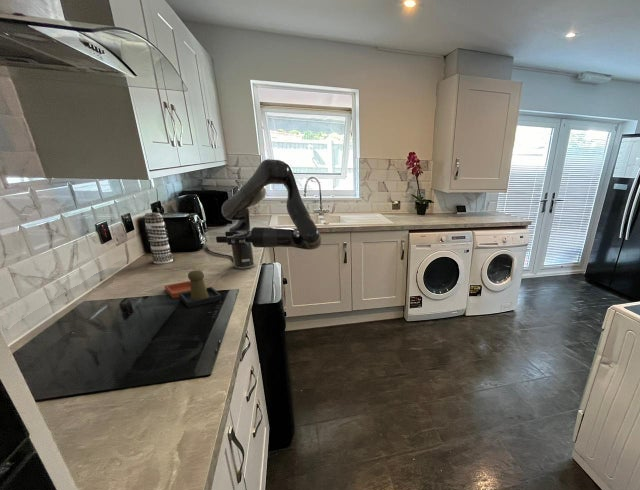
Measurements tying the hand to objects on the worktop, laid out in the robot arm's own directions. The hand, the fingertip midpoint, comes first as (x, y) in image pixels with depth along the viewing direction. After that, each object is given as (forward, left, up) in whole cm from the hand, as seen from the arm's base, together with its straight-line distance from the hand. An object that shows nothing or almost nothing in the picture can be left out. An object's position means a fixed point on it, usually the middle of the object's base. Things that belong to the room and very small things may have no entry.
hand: (221, 236), depth 119 cm
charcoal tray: (-7, -9, -25) cm, 27 cm away
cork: (-7, -9, -25) cm, 27 cm away
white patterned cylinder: (-72, -8, -25) cm, 77 cm away
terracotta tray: (-20, -11, -25) cm, 34 cm away
